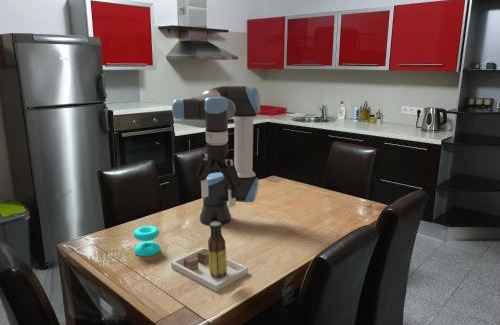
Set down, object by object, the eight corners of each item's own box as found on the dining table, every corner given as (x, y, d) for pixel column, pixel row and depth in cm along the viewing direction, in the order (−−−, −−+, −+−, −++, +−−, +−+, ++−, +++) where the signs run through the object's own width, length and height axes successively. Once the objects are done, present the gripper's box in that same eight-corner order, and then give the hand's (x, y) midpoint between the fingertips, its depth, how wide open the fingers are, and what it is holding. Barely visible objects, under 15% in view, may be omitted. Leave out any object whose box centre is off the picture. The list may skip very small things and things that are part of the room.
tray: (171, 269, 145) (171, 262, 145) (203, 254, 157) (203, 247, 156) (216, 293, 130) (216, 285, 129) (247, 275, 142) (247, 267, 141)
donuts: (160, 232, 153) (134, 236, 150) (161, 255, 155) (136, 260, 152) (157, 223, 162) (132, 226, 159) (158, 245, 164) (133, 248, 161)
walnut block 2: (197, 262, 149) (197, 252, 148) (204, 257, 152) (203, 248, 151) (206, 264, 147) (205, 255, 146) (212, 260, 150) (212, 251, 149)
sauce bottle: (227, 269, 144) (226, 219, 139) (226, 279, 137) (226, 226, 133) (209, 270, 143) (208, 219, 138) (208, 279, 137) (207, 227, 132)
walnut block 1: (183, 267, 145) (183, 257, 144) (193, 264, 147) (193, 254, 146) (188, 272, 142) (188, 262, 141) (198, 269, 144) (198, 259, 143)
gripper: (184, 139, 137) (186, 196, 143) (236, 150, 122) (236, 213, 127) (200, 136, 143) (202, 190, 149) (252, 146, 127) (251, 207, 133)
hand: (218, 201), depth 138 cm, fingers open, 13 cm apart
